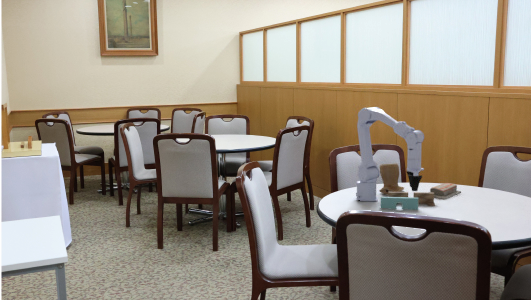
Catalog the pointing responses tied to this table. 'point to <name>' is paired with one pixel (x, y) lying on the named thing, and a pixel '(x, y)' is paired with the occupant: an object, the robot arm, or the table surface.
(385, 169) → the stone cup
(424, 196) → the notched board
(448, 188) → the packaged product
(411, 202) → the slotted panel
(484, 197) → the table surface
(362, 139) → the robot arm
